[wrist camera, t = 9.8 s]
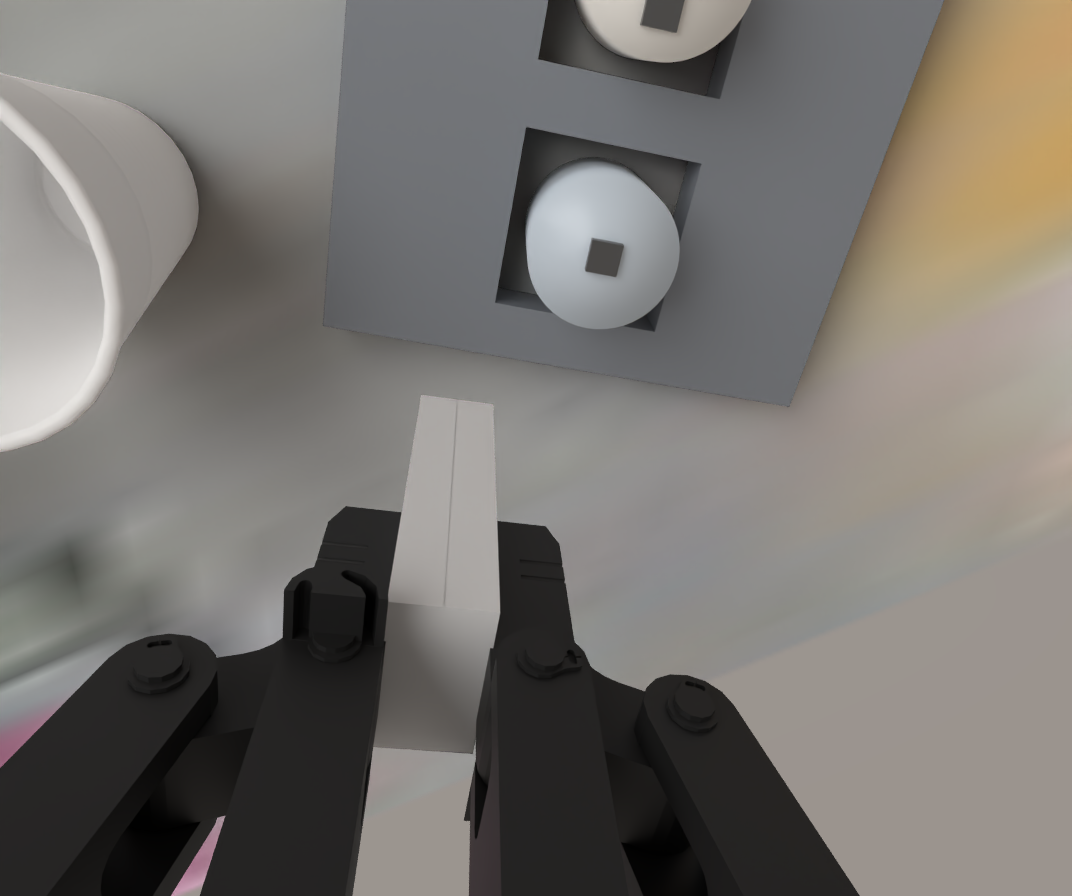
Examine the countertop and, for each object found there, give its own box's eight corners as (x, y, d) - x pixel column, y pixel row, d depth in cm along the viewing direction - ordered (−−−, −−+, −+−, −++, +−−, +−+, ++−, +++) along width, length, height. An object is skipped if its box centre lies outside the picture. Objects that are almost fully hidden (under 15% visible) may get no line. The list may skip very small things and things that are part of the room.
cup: (-55, 0, 25) (-423, -30, 15) (261, 68, 26) (110, 81, 16) (-16, 296, 29) (-280, 422, 19) (252, 343, 30) (129, 484, 21)
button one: (513, 278, 29) (514, 318, 25) (538, 144, 27) (544, 163, 23) (637, 301, 29) (658, 344, 25) (671, 172, 27) (700, 195, 23)
